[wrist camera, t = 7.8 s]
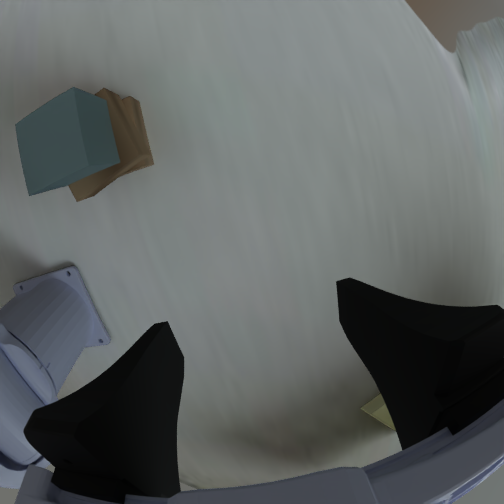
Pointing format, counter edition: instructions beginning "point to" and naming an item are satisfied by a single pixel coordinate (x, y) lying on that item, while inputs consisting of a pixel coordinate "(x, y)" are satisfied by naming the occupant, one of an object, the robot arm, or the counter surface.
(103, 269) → the counter surface
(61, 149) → the cube
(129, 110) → the bottom slab
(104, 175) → the top slab
